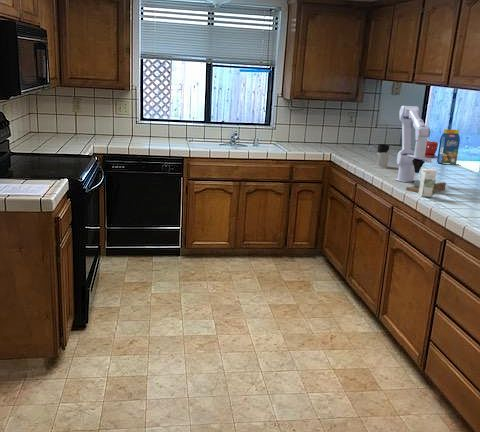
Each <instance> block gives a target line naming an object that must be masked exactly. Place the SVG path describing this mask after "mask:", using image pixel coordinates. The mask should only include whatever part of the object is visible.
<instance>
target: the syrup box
mask: <svg viewBox="0 0 480 432" xmlns="http://www.w3.org/2000/svg"><path fill="white" fill-rule="evenodd" d="M420 171H421V172H420V177H419V179H420V184H419V190H418V193H417V195H418V196H420V197H423V198H424V197H425V198H432V197H433V194H434V192H433V189H434V183H435V184H436V181H435V180H436V176H437V170H436V169H435V168H431V167H429V168H425V167H424V168H423V167H421V170H420Z"/></svg>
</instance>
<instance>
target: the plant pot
mask: <svg viewBox="0 0 480 432" xmlns="http://www.w3.org/2000/svg"><path fill="white" fill-rule="evenodd" d="M438 146H439V142H438V141H430V140H429V141H428V140H427V144H426V151H425V157H427V158H431V157H433V158H435V157H436V156H437V155H436V153H437V151H438V148H439V147H438Z"/></svg>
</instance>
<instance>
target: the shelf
mask: <svg viewBox="0 0 480 432" xmlns="http://www.w3.org/2000/svg"><path fill="white" fill-rule="evenodd" d="M446 186H447V182H444V181H443V182H442V181H441V182H435V184H434V189H433V193H434V192H440V191H445V190H446ZM405 190H406V191H410V192H414V193H417V194H418V190H419V188H417V187H414V185H412V186H406V188H405Z"/></svg>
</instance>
